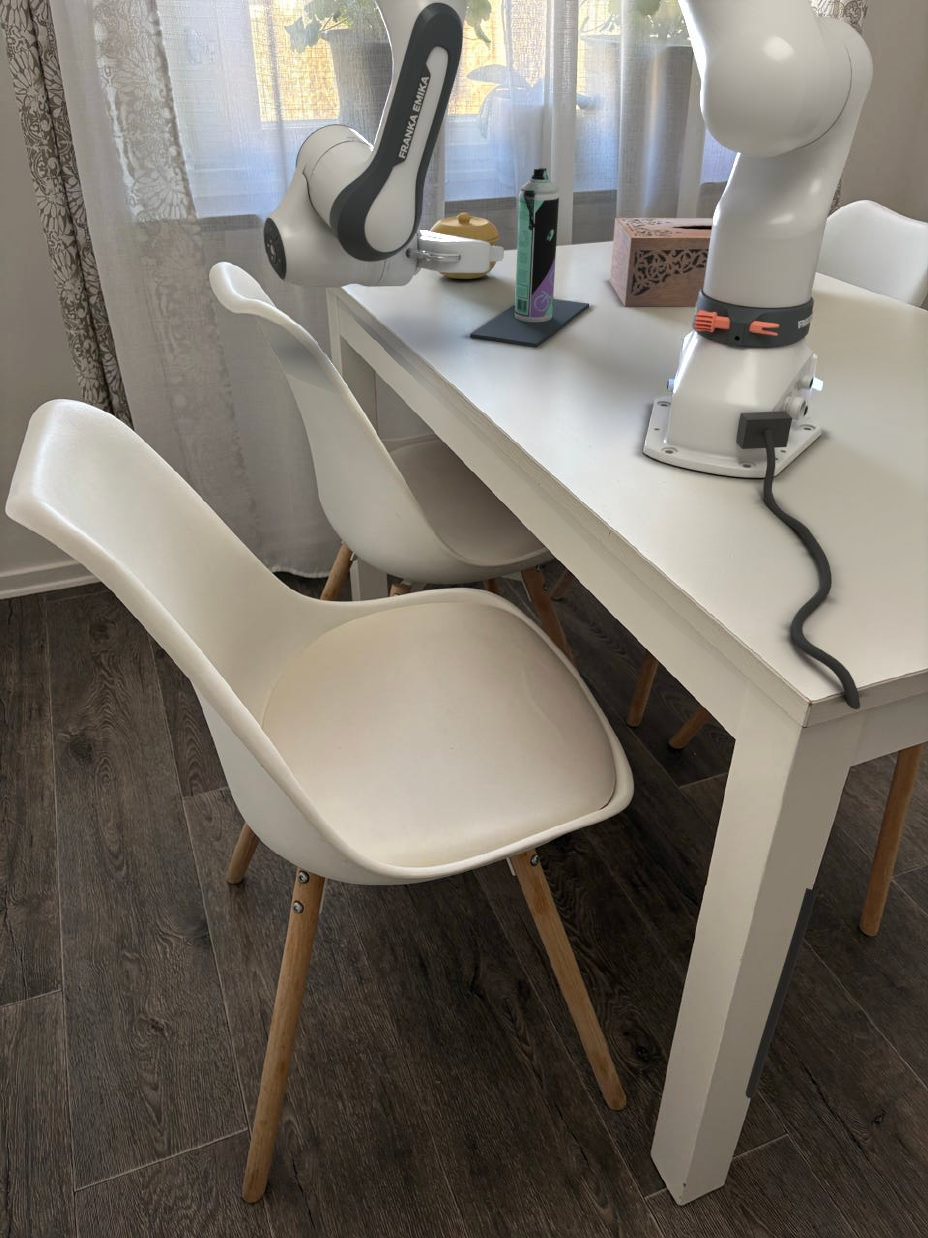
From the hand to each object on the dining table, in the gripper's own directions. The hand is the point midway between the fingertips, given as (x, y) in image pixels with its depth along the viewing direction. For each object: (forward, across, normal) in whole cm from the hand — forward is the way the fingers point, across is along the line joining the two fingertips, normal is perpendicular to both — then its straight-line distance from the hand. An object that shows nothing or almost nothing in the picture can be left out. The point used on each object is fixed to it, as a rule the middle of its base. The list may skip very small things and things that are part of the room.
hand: (480, 249), depth 130 cm
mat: (+12, +3, +10) cm, 16 cm away
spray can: (+12, +3, +10) cm, 16 cm away
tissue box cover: (+43, +2, +7) cm, 44 cm away
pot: (+17, +30, +7) cm, 35 cm away
